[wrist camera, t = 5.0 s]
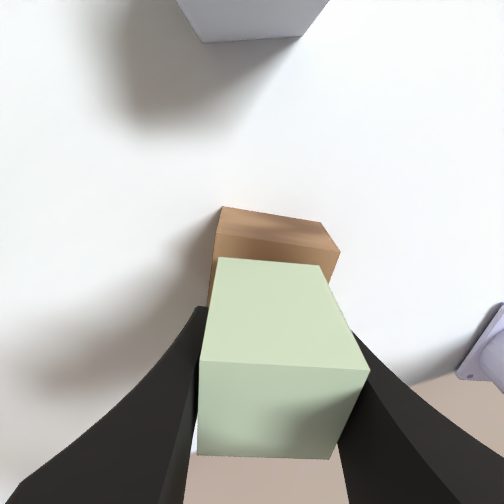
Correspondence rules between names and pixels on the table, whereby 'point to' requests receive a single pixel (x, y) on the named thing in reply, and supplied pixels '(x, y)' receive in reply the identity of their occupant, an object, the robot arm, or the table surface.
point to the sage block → (275, 363)
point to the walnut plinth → (272, 241)
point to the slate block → (250, 18)
